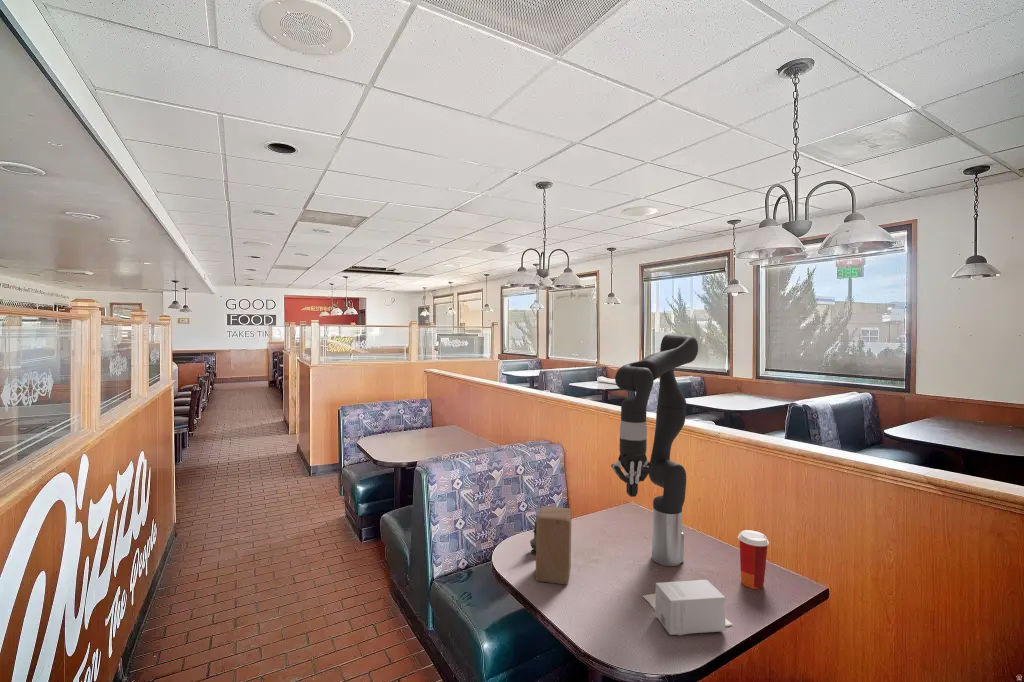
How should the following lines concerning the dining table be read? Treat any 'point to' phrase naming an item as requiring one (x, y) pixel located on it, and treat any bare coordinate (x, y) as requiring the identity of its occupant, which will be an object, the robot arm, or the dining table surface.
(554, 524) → the wooden block
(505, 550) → the dining table surface
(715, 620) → the supplement box
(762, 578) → the coffee cup
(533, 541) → the salt shaker
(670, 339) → the robot arm
